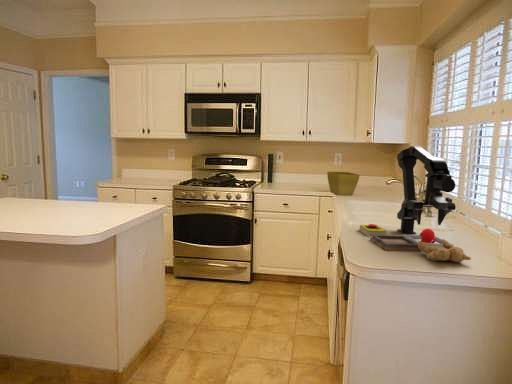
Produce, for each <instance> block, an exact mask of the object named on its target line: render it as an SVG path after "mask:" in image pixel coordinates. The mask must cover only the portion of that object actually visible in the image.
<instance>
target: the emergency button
mask: <svg viewBox="0 0 512 384" xmlns="http://www.w3.org/2000/svg"><path fill="white" fill-rule="evenodd" d="M358 231H359V232H361V233H362V234H363V235H365V236H366V237H367V238H370V237H373V235H387V232H388V231H387V230H386V229H385V228H383V227H382V226H379V225H378V224H372V223H369V224H360V225H359V228H358Z"/></svg>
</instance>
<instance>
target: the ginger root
mask: <svg viewBox="0 0 512 384" xmlns="http://www.w3.org/2000/svg"><path fill="white" fill-rule="evenodd" d="M441 239H442V242H443V247H442V246H432V245H430V244H431V243H430V244H427V243H425V242H422V241H418V242H419V243H418V248H419V249H420V250H421V251H420V252H423V253H425V254H426V258H427V259H428V260H430V261H433V262H438V261H444V262H445V261H452V262H455V263H461V262H463V261H471V260H472V257H470V256H467V255H466V254H465V252H464V249H462V248H461V247H459V246H455V245H454V246H453V245H451V244H450V243H451V242H450V243H448V242H449V241H448V240H445V239H444V238H441Z"/></svg>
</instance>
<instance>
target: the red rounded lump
mask: <svg viewBox="0 0 512 384" xmlns="http://www.w3.org/2000/svg"><path fill="white" fill-rule="evenodd" d="M419 235H420V236H421V237H422V239H420V242H425V243H427V244H435V242H437V241H436V239H435V236H436V235H435V231H434V230H433V229H431V228H424V229H422V231H421V232H420V233H419Z"/></svg>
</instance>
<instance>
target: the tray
mask: <svg viewBox="0 0 512 384" xmlns="http://www.w3.org/2000/svg"><path fill="white" fill-rule="evenodd" d="M402 236H404V237H406V238H408V239H410V240H412V241H414V242H415V243H417V244H418V243H419V242H420V241H417V240H416V239H420V240H422V237H421V236H420V234H402ZM435 239H436V242H437V243H430V245H432V246H442V247H443V242H442V239H443V238H441V237H439V236H436V235H435ZM447 242H448V243H450V244H451V245H453V246H454V247H455V244H454V243H451V242H449V241H447Z"/></svg>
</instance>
